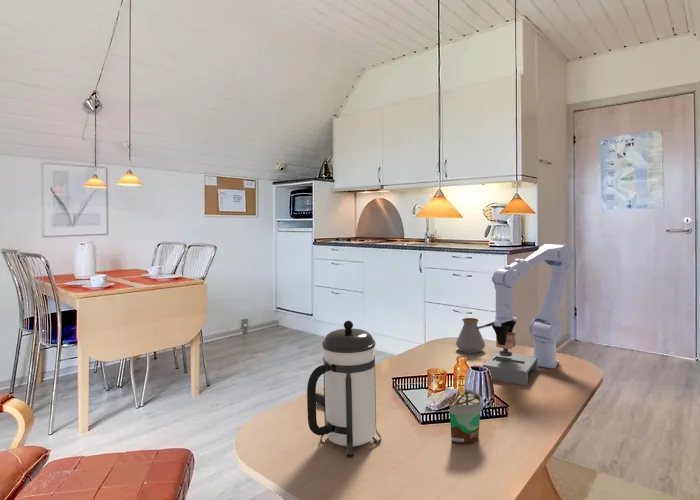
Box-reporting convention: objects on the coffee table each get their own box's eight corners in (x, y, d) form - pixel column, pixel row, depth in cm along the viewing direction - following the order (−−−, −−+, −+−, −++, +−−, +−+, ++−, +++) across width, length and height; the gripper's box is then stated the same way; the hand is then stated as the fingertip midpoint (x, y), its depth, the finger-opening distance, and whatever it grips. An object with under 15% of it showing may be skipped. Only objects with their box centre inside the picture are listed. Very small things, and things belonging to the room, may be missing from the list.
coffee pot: (450, 350, 184) (449, 314, 183) (467, 345, 191) (467, 310, 190) (496, 362, 167) (496, 322, 166) (513, 356, 174) (513, 318, 173)
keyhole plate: (497, 363, 167) (497, 351, 166) (537, 369, 159) (537, 356, 159) (482, 377, 152) (482, 364, 151) (526, 385, 144) (526, 371, 144)
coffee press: (321, 426, 118) (318, 314, 116) (382, 428, 116) (380, 314, 114) (308, 462, 101) (304, 330, 99) (379, 465, 99) (377, 331, 97)
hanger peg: (500, 351, 159) (500, 331, 159) (515, 354, 156) (515, 333, 156) (496, 355, 155) (496, 334, 155) (510, 357, 152) (511, 336, 152)
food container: (475, 452, 104) (475, 410, 103) (449, 446, 107) (449, 405, 106) (489, 430, 114) (489, 392, 113) (465, 425, 117) (465, 388, 117)
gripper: (509, 308, 147) (509, 349, 148) (522, 301, 159) (522, 339, 159) (488, 306, 151) (488, 346, 152) (502, 300, 163) (501, 336, 164)
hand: (504, 342), depth 156 cm, fingers closed on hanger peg, 5 cm apart
